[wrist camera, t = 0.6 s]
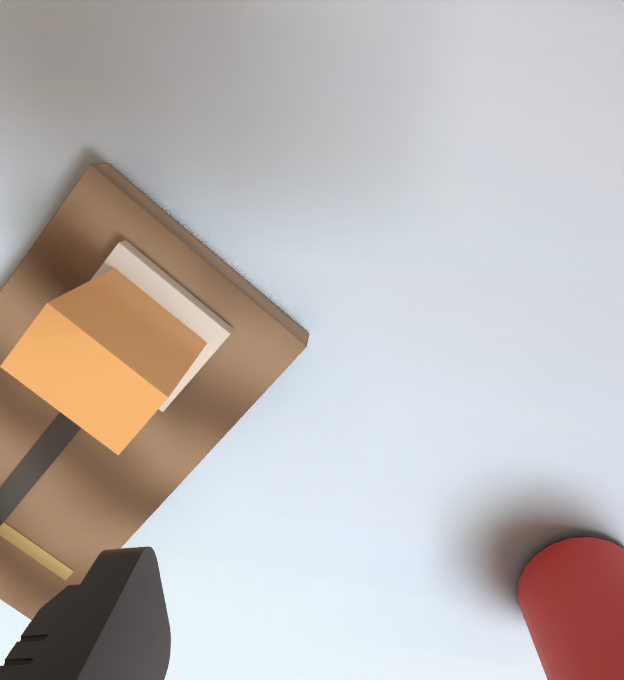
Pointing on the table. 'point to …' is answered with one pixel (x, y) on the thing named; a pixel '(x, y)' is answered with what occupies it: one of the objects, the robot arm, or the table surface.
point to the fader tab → (117, 347)
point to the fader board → (162, 428)
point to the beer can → (576, 608)
